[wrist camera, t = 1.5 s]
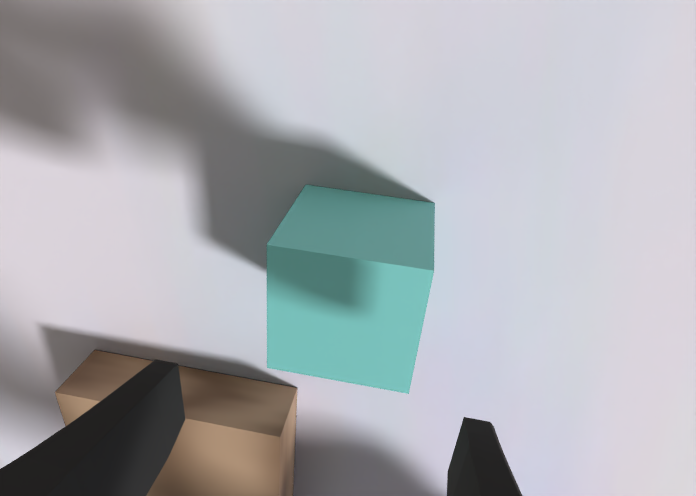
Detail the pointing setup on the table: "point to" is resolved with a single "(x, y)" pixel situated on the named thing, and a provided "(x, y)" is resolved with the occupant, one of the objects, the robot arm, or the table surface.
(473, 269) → the table surface
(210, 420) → the walnut base
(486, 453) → the robot arm
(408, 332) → the teal cube
